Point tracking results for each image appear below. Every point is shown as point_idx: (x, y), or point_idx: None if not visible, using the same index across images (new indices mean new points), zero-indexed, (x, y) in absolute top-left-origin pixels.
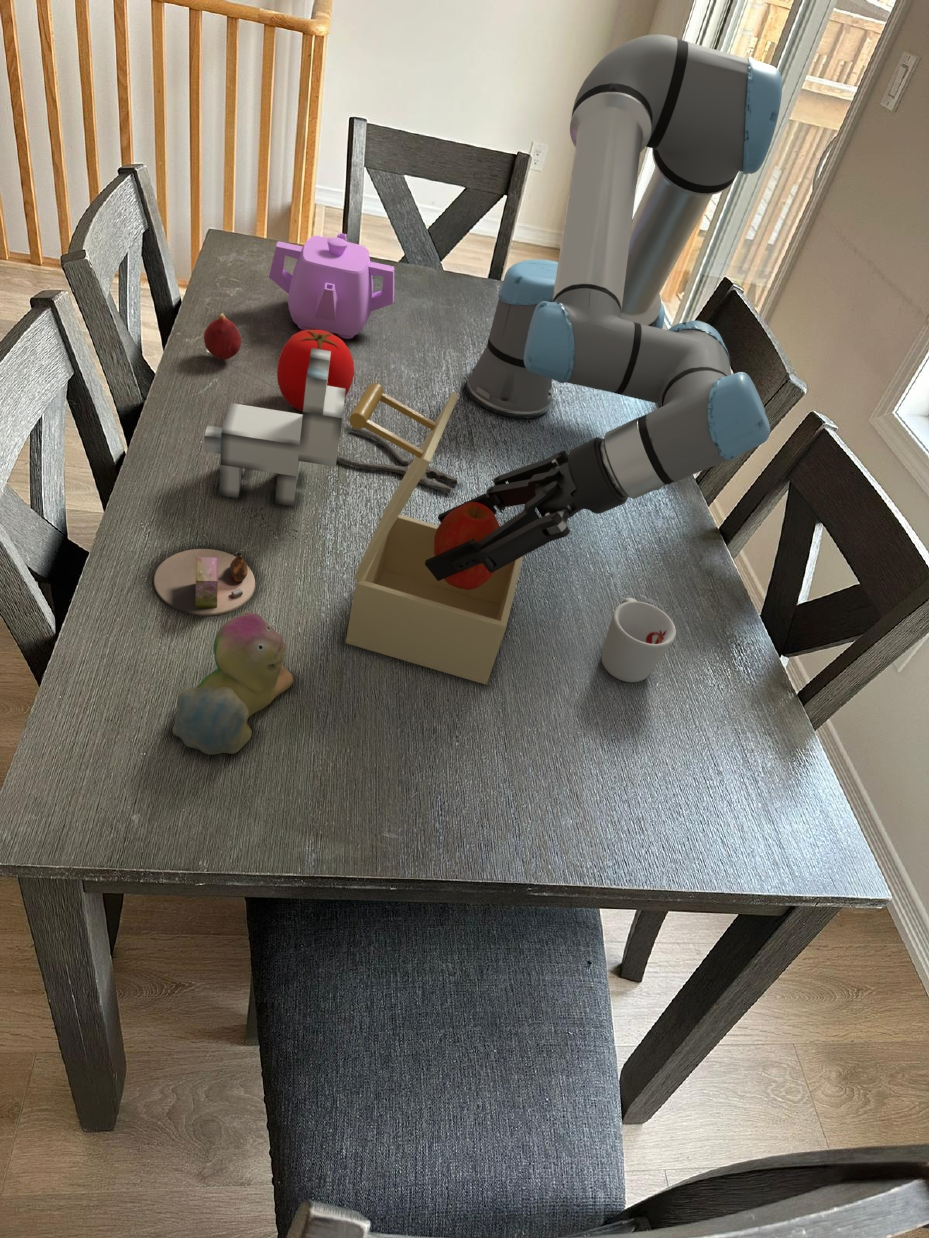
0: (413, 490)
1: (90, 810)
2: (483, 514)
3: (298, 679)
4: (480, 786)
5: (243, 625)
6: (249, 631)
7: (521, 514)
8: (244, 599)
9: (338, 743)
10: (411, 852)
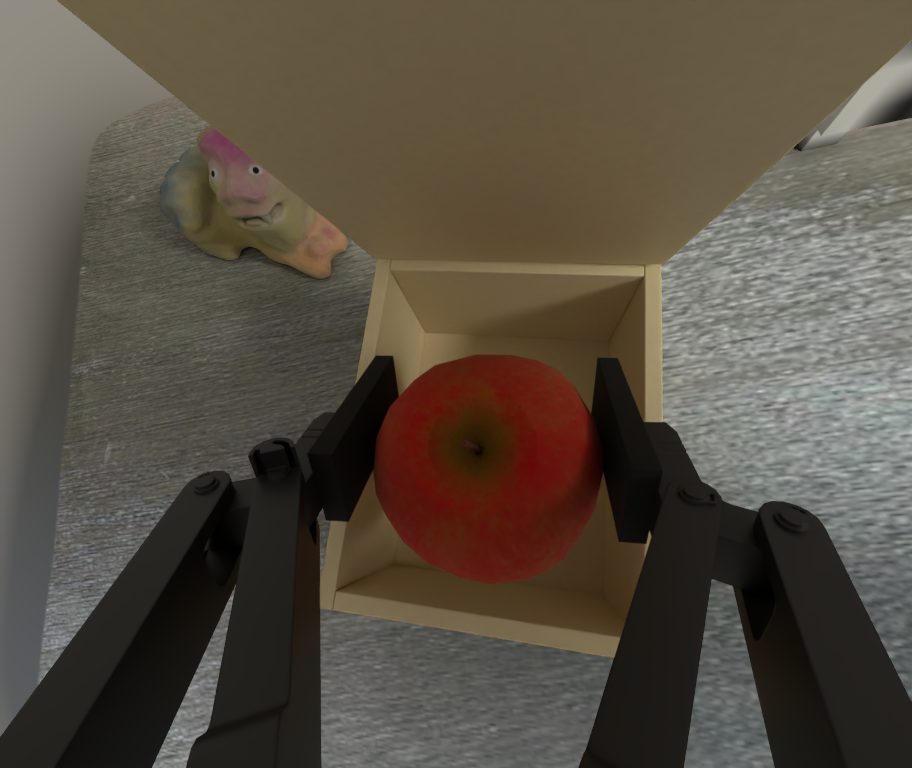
0: (125, 55)
1: (138, 162)
2: (492, 477)
3: (334, 285)
4: None
5: None
6: (219, 142)
7: (255, 680)
8: None
9: (236, 360)
10: (84, 483)
